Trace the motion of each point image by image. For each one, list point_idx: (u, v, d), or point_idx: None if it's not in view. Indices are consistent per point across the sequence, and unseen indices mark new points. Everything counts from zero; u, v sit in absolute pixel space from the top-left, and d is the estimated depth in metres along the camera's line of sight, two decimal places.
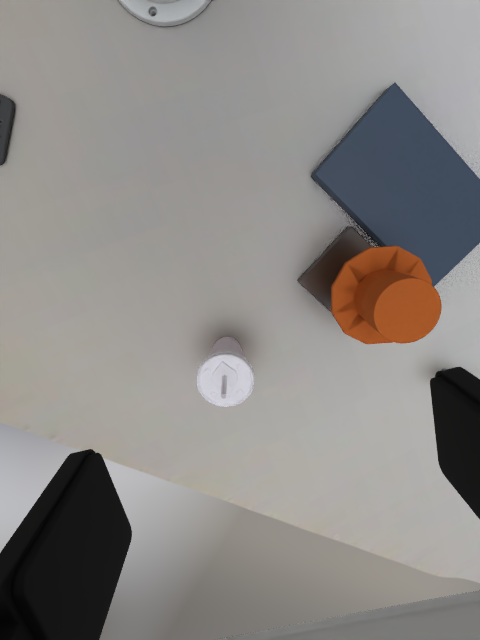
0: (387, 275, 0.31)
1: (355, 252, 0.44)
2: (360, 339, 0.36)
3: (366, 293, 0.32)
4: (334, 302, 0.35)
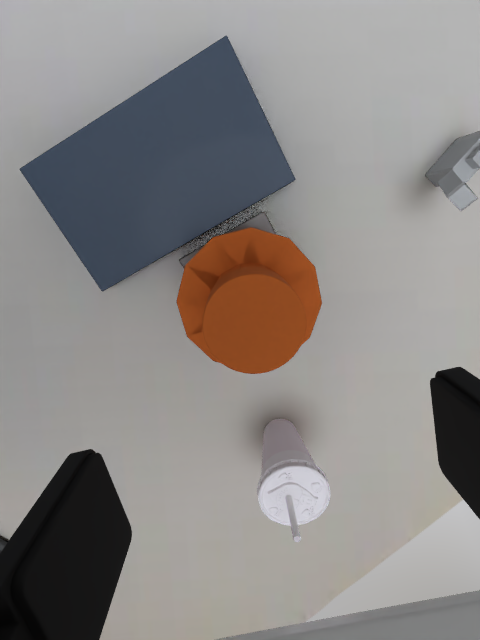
0: None
1: None
2: None
3: None
4: None
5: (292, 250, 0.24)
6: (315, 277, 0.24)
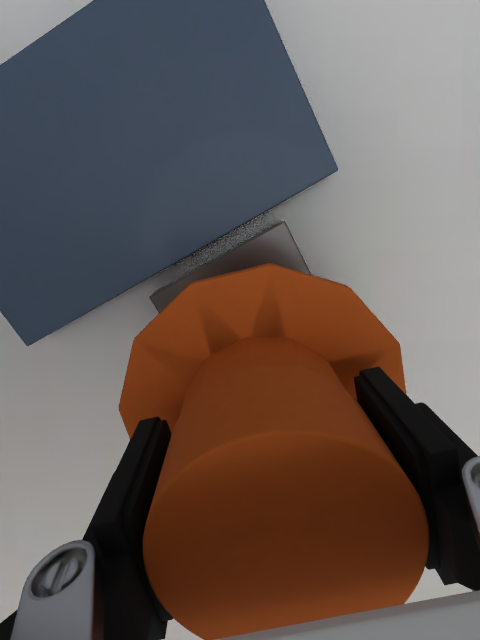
0: None
1: None
2: None
3: None
4: None
5: (356, 312, 0.11)
6: (399, 364, 0.12)
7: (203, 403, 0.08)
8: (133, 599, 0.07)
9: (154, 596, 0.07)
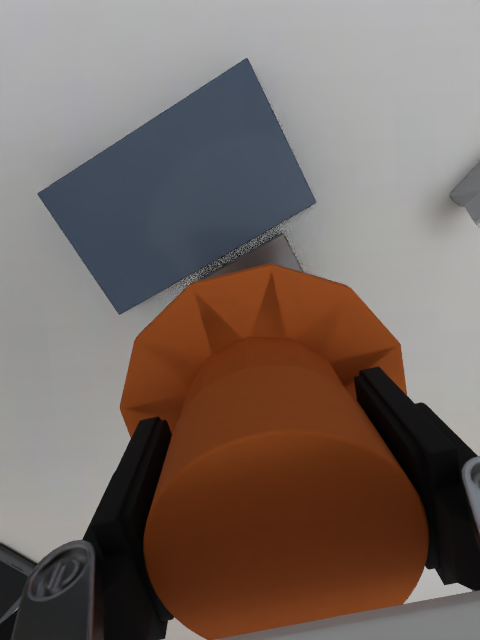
0: None
1: None
2: None
3: None
4: None
5: (357, 313, 0.11)
6: (400, 364, 0.12)
7: (204, 403, 0.08)
8: (133, 599, 0.07)
9: (154, 596, 0.07)
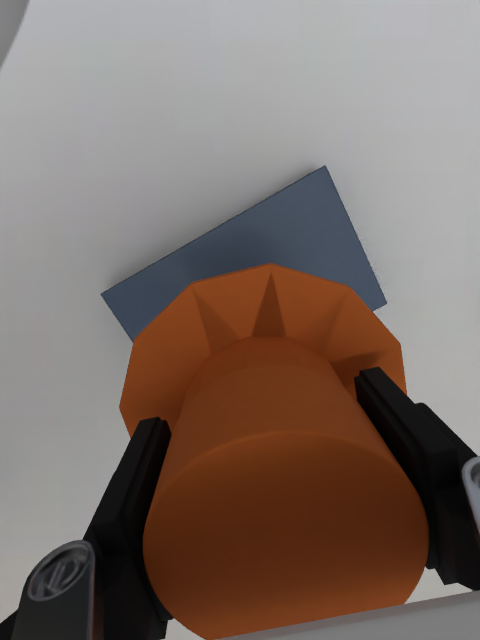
0: None
1: None
2: None
3: None
4: None
5: (357, 313, 0.11)
6: (400, 364, 0.12)
7: (203, 403, 0.08)
8: (133, 599, 0.07)
9: (154, 596, 0.07)
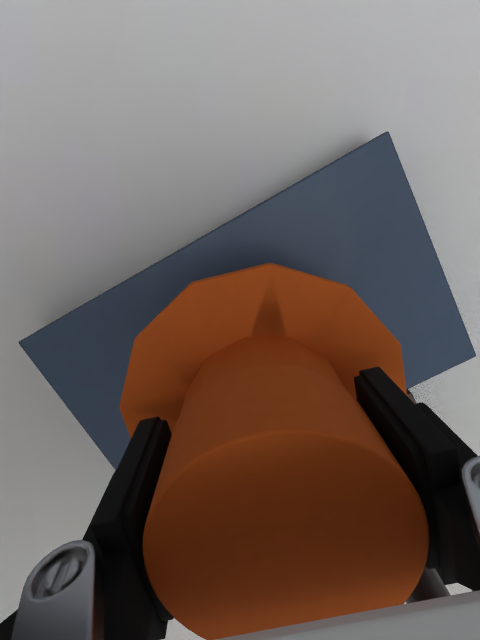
0: None
1: None
2: None
3: None
4: None
5: (357, 312, 0.11)
6: (400, 364, 0.12)
7: (203, 402, 0.08)
8: (133, 599, 0.07)
9: (154, 596, 0.07)
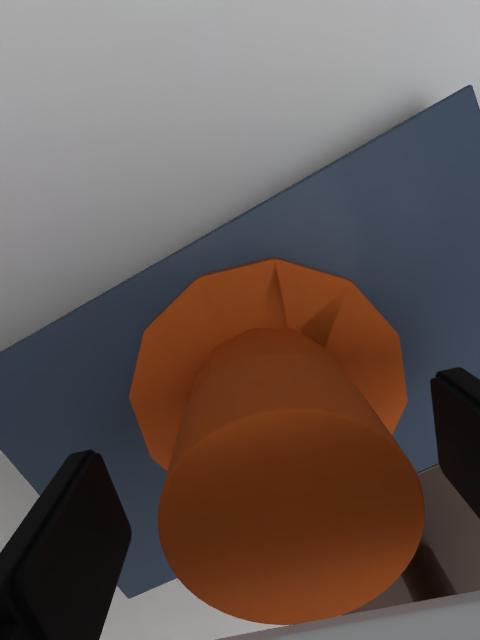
0: None
1: None
2: None
3: None
4: None
5: (357, 305, 0.12)
6: (399, 355, 0.12)
7: (212, 388, 0.09)
8: None
9: None
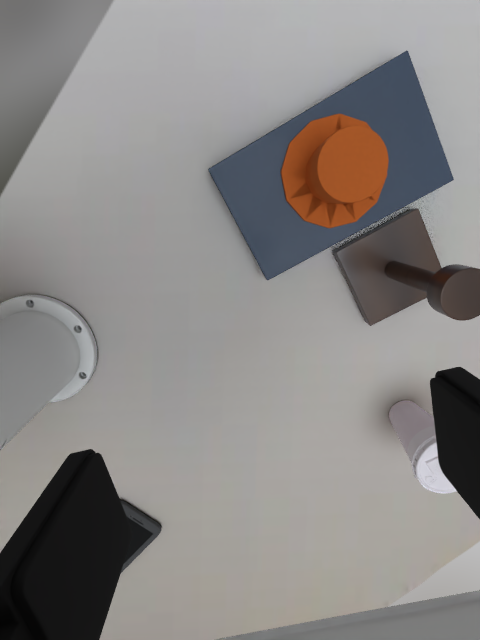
0: (311, 169, 0.31)
1: (366, 255, 0.37)
2: (369, 207, 0.34)
3: (320, 195, 0.31)
4: (320, 223, 0.35)
5: None
6: None
7: None
8: None
9: None
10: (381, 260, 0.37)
